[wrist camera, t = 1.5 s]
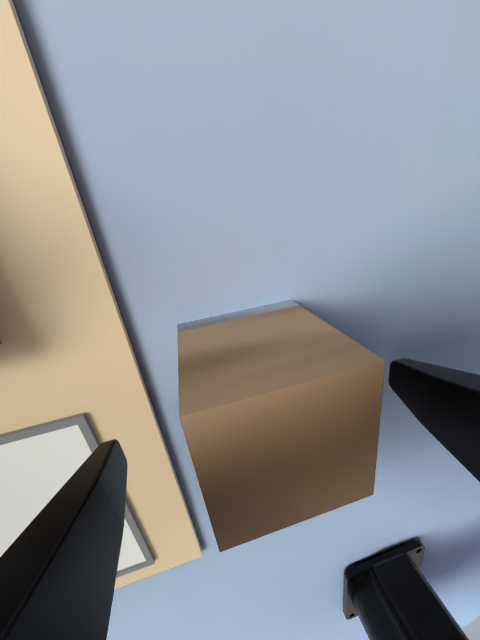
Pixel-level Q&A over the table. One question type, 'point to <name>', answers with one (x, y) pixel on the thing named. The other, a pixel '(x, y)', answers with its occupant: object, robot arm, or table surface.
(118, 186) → the table surface
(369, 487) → the block
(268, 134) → the table surface
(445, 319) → the table surface
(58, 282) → the tan rectangular board
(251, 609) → the table surface
